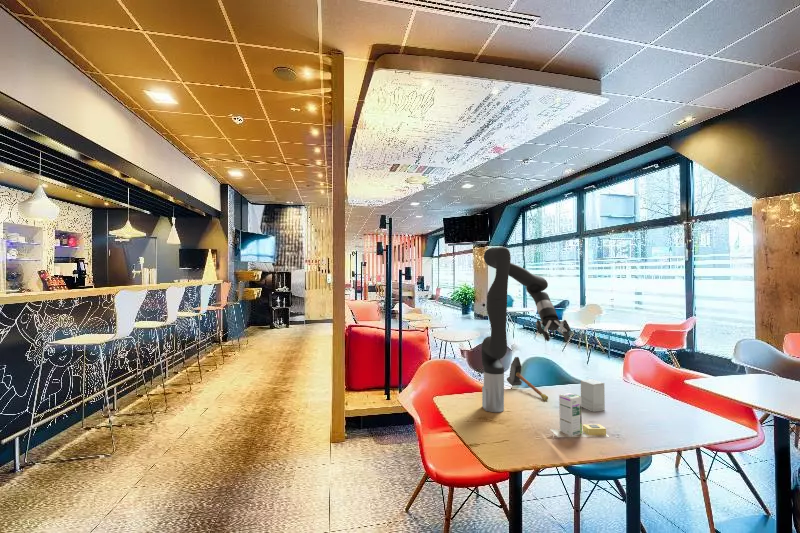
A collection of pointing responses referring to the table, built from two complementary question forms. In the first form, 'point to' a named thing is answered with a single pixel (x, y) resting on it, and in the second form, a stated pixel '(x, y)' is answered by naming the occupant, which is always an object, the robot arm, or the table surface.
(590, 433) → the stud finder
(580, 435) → the board
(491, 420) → the table surface
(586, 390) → the supplement box
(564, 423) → the syrup box
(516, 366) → the hammer
